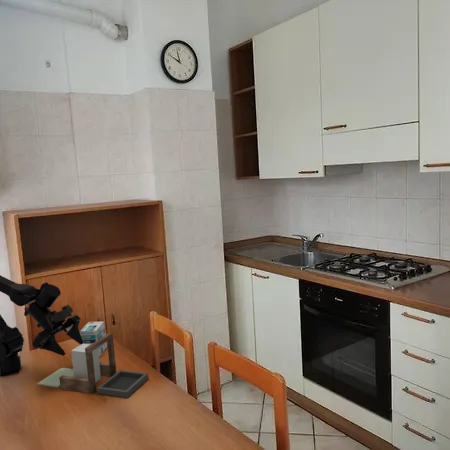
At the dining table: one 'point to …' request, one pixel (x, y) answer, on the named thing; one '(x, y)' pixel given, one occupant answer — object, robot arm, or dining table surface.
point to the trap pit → (123, 384)
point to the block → (84, 362)
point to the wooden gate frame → (92, 368)
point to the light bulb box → (94, 334)
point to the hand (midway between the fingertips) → (73, 349)
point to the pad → (56, 377)
